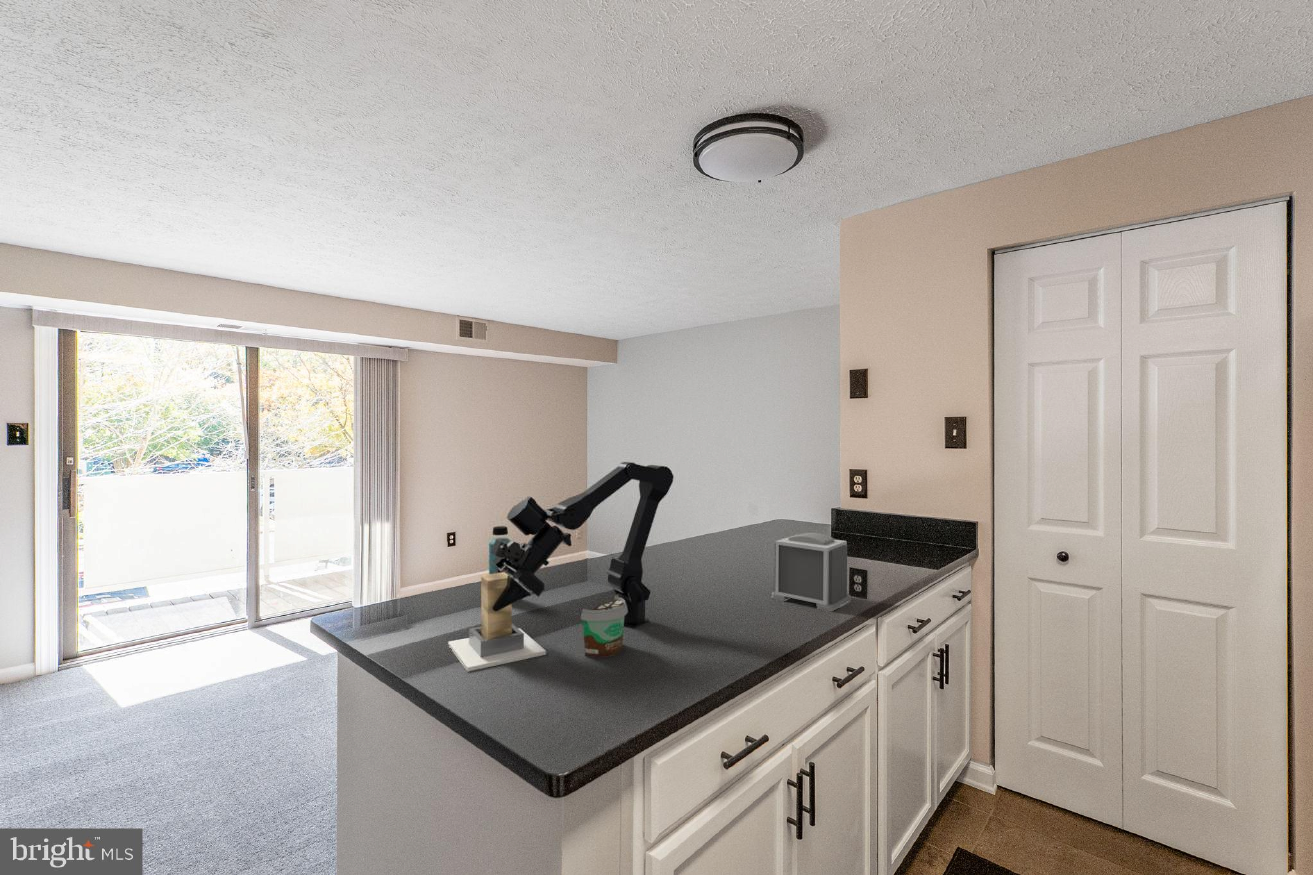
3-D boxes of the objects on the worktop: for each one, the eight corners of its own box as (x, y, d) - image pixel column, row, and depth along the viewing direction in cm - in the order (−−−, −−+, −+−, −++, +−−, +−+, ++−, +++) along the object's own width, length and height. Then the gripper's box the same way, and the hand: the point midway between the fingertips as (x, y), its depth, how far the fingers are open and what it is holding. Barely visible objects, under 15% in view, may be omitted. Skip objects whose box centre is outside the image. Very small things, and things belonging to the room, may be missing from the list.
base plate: (519, 631, 132) (519, 628, 132) (545, 654, 119) (545, 650, 119) (448, 645, 124) (448, 641, 124) (467, 671, 110) (467, 667, 110)
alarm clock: (852, 601, 158) (852, 535, 158) (832, 612, 148) (833, 542, 148) (791, 589, 170) (792, 527, 170) (769, 598, 160) (770, 533, 160)
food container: (604, 664, 114) (604, 614, 114) (580, 658, 117) (580, 609, 117) (638, 645, 124) (638, 599, 124) (615, 639, 128) (616, 595, 128)
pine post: (504, 631, 125) (504, 572, 125) (511, 638, 121) (511, 577, 120) (481, 635, 122) (481, 575, 122) (488, 643, 118) (487, 580, 118)
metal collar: (509, 635, 128) (509, 621, 127) (523, 648, 120) (523, 633, 120) (468, 643, 123) (468, 628, 123) (480, 657, 115) (480, 641, 115)
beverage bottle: (517, 596, 161) (517, 525, 161) (501, 602, 155) (501, 529, 155) (499, 593, 164) (499, 523, 163) (482, 599, 158) (483, 527, 157)
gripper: (500, 519, 131) (451, 574, 125) (529, 532, 115) (474, 594, 110) (533, 550, 135) (487, 604, 130) (565, 565, 120) (514, 628, 114)
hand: (490, 606), depth 121 cm, fingers closed on pine post, 5 cm apart
